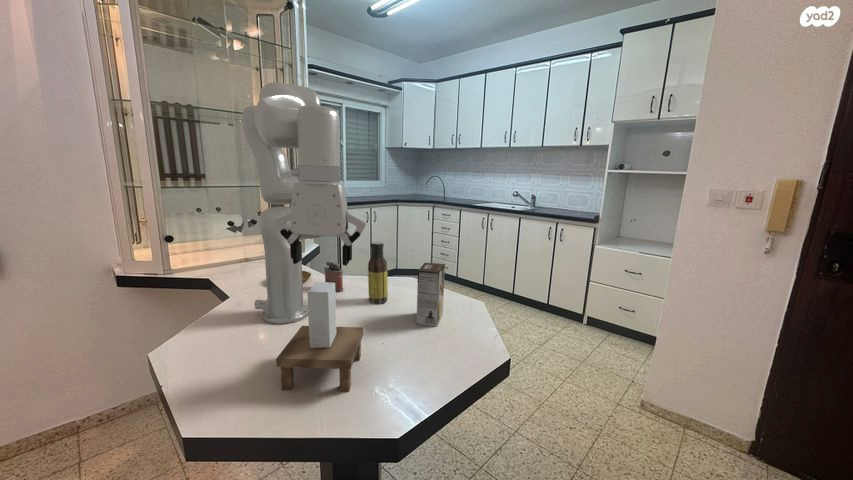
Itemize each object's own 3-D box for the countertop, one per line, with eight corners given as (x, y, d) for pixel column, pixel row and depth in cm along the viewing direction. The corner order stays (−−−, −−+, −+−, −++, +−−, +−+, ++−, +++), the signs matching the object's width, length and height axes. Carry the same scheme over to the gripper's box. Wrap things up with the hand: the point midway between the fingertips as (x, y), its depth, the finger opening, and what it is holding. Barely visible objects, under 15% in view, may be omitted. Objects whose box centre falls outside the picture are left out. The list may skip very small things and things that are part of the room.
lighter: (345, 290, 122) (345, 263, 120) (338, 293, 119) (337, 265, 117) (329, 285, 126) (329, 259, 124) (322, 288, 123) (321, 261, 122)
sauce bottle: (381, 296, 118) (381, 239, 114) (391, 302, 113) (392, 243, 109) (364, 300, 114) (364, 241, 110) (374, 306, 109) (374, 245, 105)
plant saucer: (262, 288, 122) (262, 281, 121) (277, 276, 136) (277, 269, 136) (305, 289, 123) (305, 282, 122) (315, 276, 137) (315, 270, 137)
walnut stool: (278, 391, 66) (276, 358, 65) (303, 353, 80) (301, 325, 78) (351, 393, 66) (350, 360, 65) (363, 355, 80) (363, 327, 79)
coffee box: (422, 312, 106) (424, 261, 103) (443, 314, 105) (445, 263, 101) (415, 324, 97) (417, 270, 94) (438, 327, 96) (440, 272, 93)
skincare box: (317, 334, 75) (315, 281, 72) (336, 334, 75) (335, 282, 72) (308, 348, 69) (306, 291, 66) (330, 348, 69) (328, 292, 66)
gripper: (265, 174, 61) (270, 266, 65) (362, 178, 61) (362, 269, 65) (281, 173, 68) (285, 256, 72) (368, 177, 69) (368, 259, 72)
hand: (321, 262), depth 68 cm, fingers open, 9 cm apart
